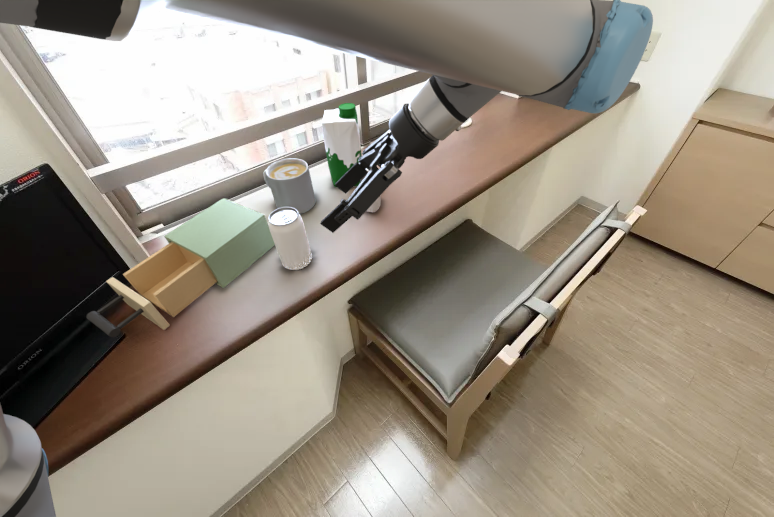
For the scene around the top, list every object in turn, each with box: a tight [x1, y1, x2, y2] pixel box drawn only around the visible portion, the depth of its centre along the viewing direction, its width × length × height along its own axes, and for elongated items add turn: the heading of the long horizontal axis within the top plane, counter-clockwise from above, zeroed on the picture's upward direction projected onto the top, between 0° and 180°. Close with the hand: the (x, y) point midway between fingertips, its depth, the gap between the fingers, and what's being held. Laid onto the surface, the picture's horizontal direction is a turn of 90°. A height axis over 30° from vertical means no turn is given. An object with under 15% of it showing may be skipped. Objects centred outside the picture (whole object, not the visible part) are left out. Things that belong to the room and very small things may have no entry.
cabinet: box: [163, 197, 276, 289], centre depth 71 cm, size 15×13×9 cm
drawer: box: [86, 242, 218, 338], centre depth 62 cm, size 19×11×7 cm, turn 149°
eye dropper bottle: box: [366, 168, 382, 213], centre depth 81 cm, size 4×6×12 cm
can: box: [267, 207, 313, 271], centre depth 68 cm, size 6×6×12 cm
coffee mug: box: [262, 157, 317, 215], centre depth 85 cm, size 13×10×10 cm
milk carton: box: [321, 102, 363, 188], centre depth 87 cm, size 9×9×20 cm
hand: (334, 206), depth 61 cm, fingers open, 11 cm apart
